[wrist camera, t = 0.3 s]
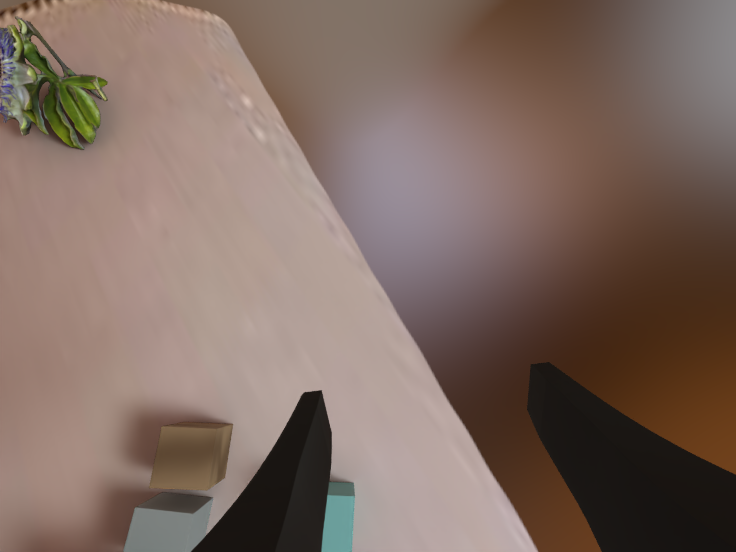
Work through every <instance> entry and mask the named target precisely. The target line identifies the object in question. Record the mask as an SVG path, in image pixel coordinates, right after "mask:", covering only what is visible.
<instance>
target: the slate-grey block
mask: <svg viewBox="0 0 736 552" xmlns="http://www.w3.org/2000/svg"><path fill="white" fill-rule="evenodd" d="M212 502H213V498H211V497H202V496H194V495H185V494H176V493H167V492H162V493H160V494H158V495H157V496H155V497H153V498H151V499H149V500H148V501H146V502H144V503H142V504H140V505H139V506H137V507H135V510H134V514H133V517H132V521H131V525H130V528H129V532H128V536H127V540H126V543H125V547H124V551H123V552H191V551H192V550H193V549H194V548H195V547H196V546H197V545H198V543H199V542H200V541H201V540H202V539H203V538H204V537H205V534H206V529H207V525H208V520H209V516H210V511H211V506H212Z"/></svg>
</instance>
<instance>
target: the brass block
mask: <svg viewBox="0 0 736 552" xmlns="http://www.w3.org/2000/svg"><path fill="white" fill-rule="evenodd" d="M232 427H233V424H217V423H196V422H182V423H177V424H171V425H166V426H162V427H161V432H160V437H159V442H158V447H157V452H156V457H155V461H154V466H153V471H152V476H151V481H150V486H149V488H161V489H186V490H208V489H210V488H211V487H212V486H214V485H215V484H217V483H218V482H219V481H221V480H222V479H224V478H225V474H226V467H227V461H228V454H229V447H230V441H231V434H232Z"/></svg>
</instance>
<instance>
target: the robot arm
mask: <svg viewBox="0 0 736 552" xmlns="http://www.w3.org/2000/svg"><path fill="white" fill-rule="evenodd" d="M527 410H528V412H529V415H530V417H531V419H532V422H533V424H534V426H535V428H536V431H537V433H538V435H539V438H540V439H541V441H542V443H543V445H544V446H545V448H546V450H547V452H548V453H549V455H550V457H551V459H552V460H553V462H554V464H555V465H556V467H557V469H558V471H559V472H560V474H561V475H562V477H563V479H564V481H565V482H566V484H567V486H568V488H569V489H570V491H571V493H572V494H573V496H574V498H575V499H576V501H577V503H578V504H579V507H580V508H581V510H582V512H583V514H584V516H585V517H586V519H587V522H588V523H589V525H590V528H591V530H592V532H593V534H594V536H595V538H596V540H597V543H598V545H599V547H600V549H601V551H602V552H736V475H735V474H733V473H731V472H729V471H726V470H724V469H722V468H720V467H718V466H716V465H714V464H712V463H710V462H708V461H706V460H704V459H701V458H700V457H697V456H696V455H694V454H692V453H690V452H688V451H686V450H684V449H682V448H680V447H678V446H677V445H675V444H673V443H671V442H670V441H668V440H666V439H664V438H662V437H660V436H659V435H657V434H655V433H653V432H651V431H650V430H648V429H647V428H645V427H643V426H642V425H640V424H638V423H637V422H635V421H634V420H632V419H630V418H629V417H627V416H625V415H624V414H622V413H621V412H619V411H618V410H616V409H615V408H613V407H612V406H610V405H609V404H607V403H606V402H604V401H603V400H601V399H600V398H598V397H597V396H596V395H594V394H593V393H591V392H590V391H588V390H587V389H586V388H584V387H583V386H581V385H580V384H579V383H577V382H576V381H574V380H573V379H572V378H570V377H569V376H568V375H566V374H565V373H563V372H562V371H561V370H559V369H558V368H556V367H555V366H554V365H552V364H551V363H549V362H547V363H538V364H531V369H530V381H529V393H528V405H527ZM331 454H332V432H331V428H330V424H329V420H328V415H327V411H326V407H325V403H324V399H323V394H322V390H320V391H312V392H304V393H303V394H302V396H301V398H300V400H299V402H298V404H297V406H296V408H295V410H294V412H293V414H292V415H291V417H290V419H289V421H288V423H287V425H286V426H285V428H284V430H283V432H282V433H281V435H280V437H279V438H278V440H277V442H276V444H275V445H274V447H273V448H272V450H271V452H270V453H269V455H268V456H267V458H266V459H265V461H264V462H263V464H262V465H261V467H260V468H259V470H258V471H257V473H256V474H255V476H254V477H253V479H252V480H251V481H250V483H249V484H248V485H247V487H246V488H245V489H244V491H243V492H242V493H241V495H240V496H239V497H238V499H237V500H236V501H235V502H234V503H233V505H232V506H231V507H230V508H229V510H228V511H227V512H226V513H225V514H224V516H223V517H222V518H221V519H220V520H219V522H218V523H217V524H216V525H215V526H214V527H213V528H212V530H211V531H210V532H209V533H208V534H207V535H206V536H205V537H204V538H203V539H202V540H201V541H200V542H199V543H198V545H197V546H196V547H195V548H194V549H193V550H192V551H191V552H322V540H323V529H324V521H325V513H326V504H327V496H328V488H329V479H330V471H331Z"/></svg>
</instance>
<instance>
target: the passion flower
mask: <svg viewBox="0 0 736 552" xmlns="http://www.w3.org/2000/svg"><path fill="white" fill-rule="evenodd" d="M15 18H16V19H17V21H18V24H19V26H20V32H19V31H18V30H17V28H16V27H15V26H14V25H9V26H7V28H8V29H7V28H0V113H1V114H2V115H3V116H4V122H5V123H6V122H7V120H9V119H16V120H18V121H19V127H20V131H21V134H22V135H27V134H29V133H30V128H31V122H34V123H35V124H36V125H37V127H38V128H39V130H40V131H42V132H43V133H45V134H47V135H48V134H49V133H48V132H47V130H46V128H45V126H44V120H43V118H42V116H41V110H40V108H39V91H40V89H41V87H42V85H43V84H44V83H45V82H47V81H48V82H49V83H50V85H49V87H48V88H49V95H47V96H45V100H44V102H43V105H42V107H43V113H44V117H45V118H46V119H47V120H48V121H49V124H50V125H51V127H52V129H53V131H54V132H55V133H56V134H57V135H58V136H59V137H60V138H61V139H62V141H63V142H65V143H66V144H67V145H69V146H71V147H73V148H80V149H82V150H84V147H83V146H82V145H81V144H80V143H79V141H78V137H77V135H76V132H75V130H74V128H73V127H72V126H71V125H70V123H69V121H68V119H67V118H66V116H65V115H64V113H63V110H62V107H63V108H64V111H65V112H66V113H67V115H68V116H69V117H70V119H71V120H72V121H73V122H74V125H75V126H74V127H75V128H76V129H77V131H78V132H79V133H80V134H81V135H82V136H83V137H84V138H85V139H86V141H87V142H89V143H90V144H92V143H93V142H94V139H95V136H96V130H97V128H99V126H100V112H99V109H98V107H97V105H96V103H95V101H94V100H93V99H92V98H91V96H90V95H88V94H87V93H86V92H85V90H84V89H82V88H85V89H87V90H88V91H90V92H91V93H92V94H94V95H96V96H97V97H99V98H100V99H102V98H103V100H104V101H107V97H106V95H105V94H104V92H103V91H102V88H101V87H103V86H105V85H107V81H106V80H104V79H102V78H100V77H97V76H94V75H76V74H75V73H74V72H73V71H72V70H70V69H69V68H68V67H67V66H66V65H65V64H64V63H63V62H62V61H61V59H60V58H59V57H58V56H57V54H56V53H55V52H54V51H53V50H52V49H51V47H50V46H49V45H48V44H47V42H46V41H45V40H44V39H43V37H42V36H41V35H40V33H39V32H38V31H37V30H36V29H35V27H34V26H33V25H32V24H31V23H30V22H28V21H25V20H22V18H19V17H18V16H15ZM32 35H35V36H37V37H38V38H39V39H40V40H41V42H42V43H43V44H44V45H45V47H46V48H47V49H48V50H49V51H50V53H51V54H52V55H53V56H54V58H55V59H56V60H57V61H58V62H59V64H60V65H61V67H62V69H63V73H64V77H60V76H58V75H57V74H56V73H55V72H54V71H53V69H52V67H51V65H50V63H49V61H48V60H47V58H46V57H45V56H42V55H41V54H40V53H39V51H38V49H37V47H36V45H35V44H33V43H32V42H31V36H32ZM25 58H26V59H27V60H28V61H29V62H30V63H31V64H32V65H33V66H35V67H36V68H38V69H39V70H40V71H41V74H37V73H36V72H35V70H34V68H33V67H32V66H31V65H29V64H26V62H25ZM92 89H95V90H96V89H97V91H98V93H99V95H100V96H101V97H102V98H101V97H100V96H99V95H97V94H96V93H95V92H94V91H93V90H92ZM61 104H62V106H61ZM5 119H6V121H5Z"/></svg>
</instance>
